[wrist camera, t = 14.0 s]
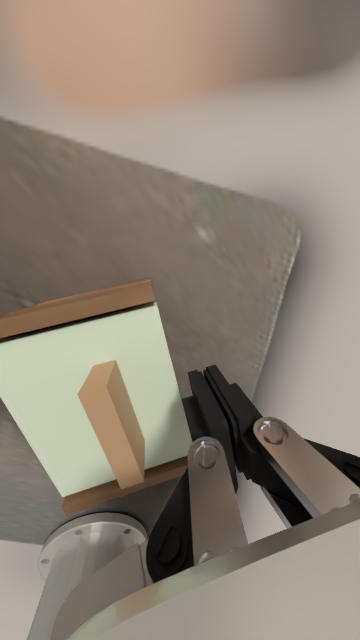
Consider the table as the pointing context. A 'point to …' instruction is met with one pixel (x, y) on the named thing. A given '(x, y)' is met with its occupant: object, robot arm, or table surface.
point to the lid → (96, 398)
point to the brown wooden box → (76, 311)
